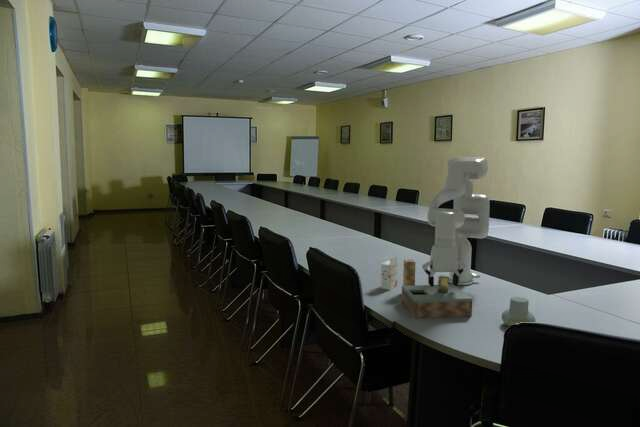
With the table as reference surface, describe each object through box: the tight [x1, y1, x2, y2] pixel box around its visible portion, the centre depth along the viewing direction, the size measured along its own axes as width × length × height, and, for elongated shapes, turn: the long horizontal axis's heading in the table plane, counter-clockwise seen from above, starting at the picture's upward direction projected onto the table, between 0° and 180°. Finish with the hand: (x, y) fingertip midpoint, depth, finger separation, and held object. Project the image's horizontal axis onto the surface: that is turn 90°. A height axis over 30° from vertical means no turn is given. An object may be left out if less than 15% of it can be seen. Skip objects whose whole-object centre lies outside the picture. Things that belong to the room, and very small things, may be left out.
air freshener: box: [501, 296, 536, 327], centre depth 152 cm, size 11×8×10 cm
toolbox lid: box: [401, 275, 473, 303], centre depth 169 cm, size 22×18×7 cm
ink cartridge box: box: [380, 255, 399, 291], centre depth 198 cm, size 9×5×15 cm, turn 148°
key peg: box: [402, 259, 416, 286], centre depth 187 cm, size 4×4×15 cm
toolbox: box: [401, 288, 473, 319], centre depth 170 cm, size 22×18×6 cm
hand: (443, 285), depth 169 cm, fingers open, 9 cm apart
